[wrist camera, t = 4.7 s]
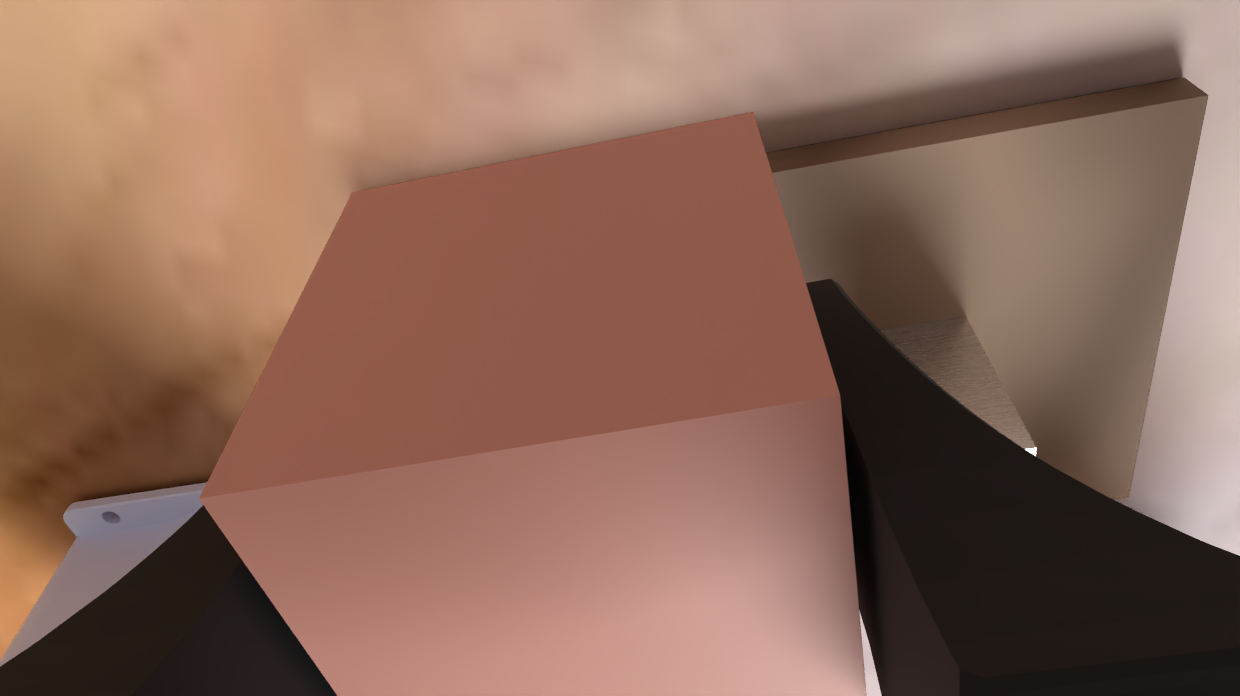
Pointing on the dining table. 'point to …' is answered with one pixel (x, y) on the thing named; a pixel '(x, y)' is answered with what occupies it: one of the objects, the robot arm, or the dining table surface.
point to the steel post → (962, 372)
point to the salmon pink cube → (557, 437)
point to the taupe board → (1019, 249)
